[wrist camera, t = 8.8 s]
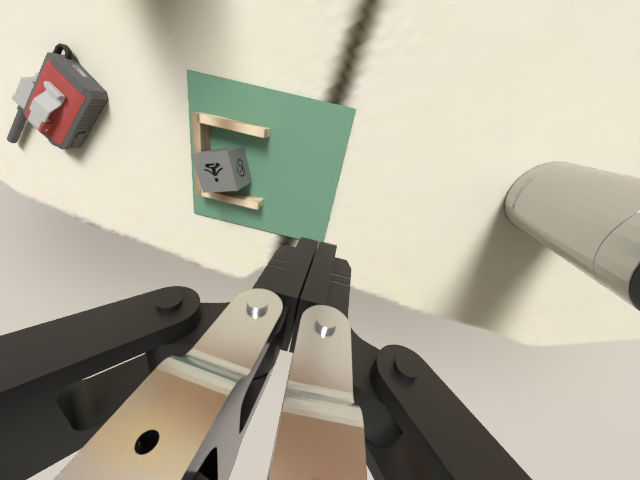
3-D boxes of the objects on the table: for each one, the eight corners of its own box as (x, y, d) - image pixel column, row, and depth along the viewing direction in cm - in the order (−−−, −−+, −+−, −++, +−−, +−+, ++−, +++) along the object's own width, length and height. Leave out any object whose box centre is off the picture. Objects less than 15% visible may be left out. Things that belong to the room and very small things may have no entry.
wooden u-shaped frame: (270, 128, 32) (264, 129, 30) (263, 204, 38) (257, 209, 35) (203, 112, 33) (191, 112, 30) (205, 190, 38) (195, 194, 36)
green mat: (355, 109, 30) (355, 109, 30) (322, 244, 40) (322, 245, 40) (188, 70, 31) (187, 69, 31) (195, 212, 40) (194, 213, 40)
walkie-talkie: (59, 29, 31) (15, 135, 39) (16, 17, 27) (-23, 137, 35) (117, 91, 34) (65, 178, 41) (86, 87, 30) (34, 185, 37)
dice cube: (244, 146, 34) (227, 150, 30) (252, 181, 36) (237, 190, 32) (211, 149, 35) (190, 154, 30) (221, 183, 37) (203, 192, 33)
